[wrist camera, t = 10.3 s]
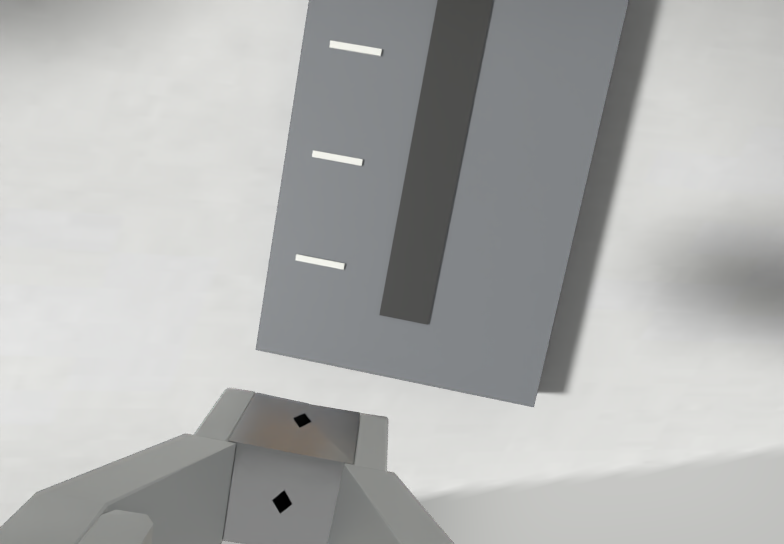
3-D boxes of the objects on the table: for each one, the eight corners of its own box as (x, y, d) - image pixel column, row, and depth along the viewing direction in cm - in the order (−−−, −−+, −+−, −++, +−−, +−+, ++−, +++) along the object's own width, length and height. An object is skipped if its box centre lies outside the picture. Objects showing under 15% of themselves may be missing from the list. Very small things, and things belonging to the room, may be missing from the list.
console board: (526, 392, 26) (534, 408, 24) (268, 339, 27) (254, 350, 25) (672, -242, 22) (697, -290, 20) (365, -282, 23) (358, -332, 21)
